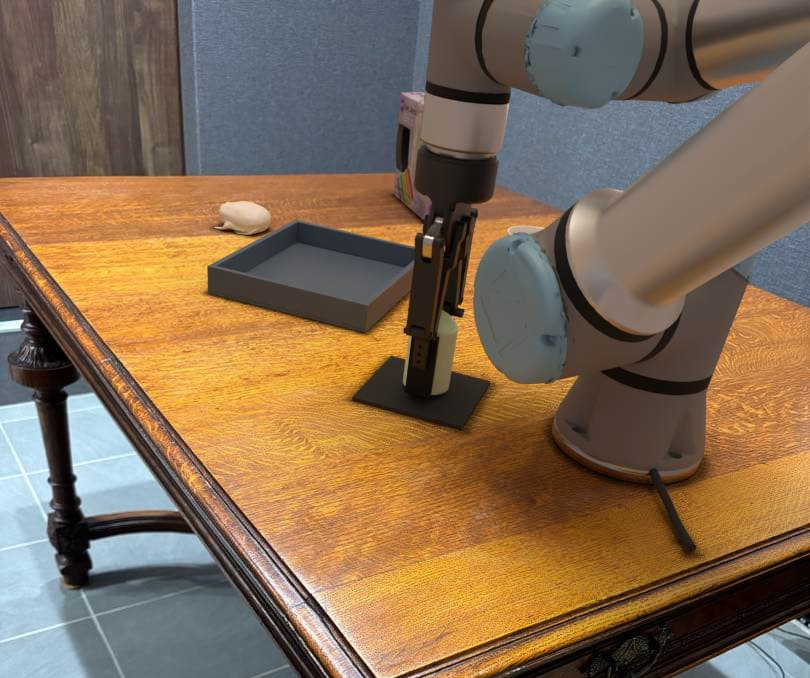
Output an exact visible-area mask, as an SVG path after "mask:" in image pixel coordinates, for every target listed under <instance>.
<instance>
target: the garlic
mask: <svg viewBox="0 0 810 678" xmlns="http://www.w3.org/2000/svg"><path fill="white" fill-rule="evenodd" d="M217 213H218V217H219V219H220V220H221V221H222V222H223V226H214V227H213V228H214V229H218V230H223V231H224V230H233V231H235V234H238V235H244V236H245V235H246V236H249V235H254V234H258V233H259V234H260V233H263V232H265V231H266V230H267V229H268V228H269V227H270V225H271V222H272V221H271V220H272V216H271V212H270V211H269V210H268V209H266V207H264V206H261V205H260V204H257V203H254V202H252V201H247V200H239V201H233V202H232V201H231V202H230V201H226V202H225V203H221V204H220V207H219V210H218V212H217Z"/></svg>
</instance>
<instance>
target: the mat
mask: <svg viewBox="0 0 810 678" xmlns="http://www.w3.org/2000/svg"><path fill="white" fill-rule="evenodd" d="M405 360H406V358H401V357H397V356H394V355H390V356H389V358H387V359H386V360H385V361H384V362H383V364H381V366H380V367H379V368H378V369H377V370H376V371H375V372H374V373H373V374H372V375H371V376H370V377H369V379H368V380H367V381H366V382H365V383H364V384H362V386H361V387H360V388H359V389H358V390H357V391H356V393H354V395H352V397H351V401H353V402H357V403H362V404H365V405H367V406H368V405H369V406H372V407H376V408H380V409H383V410H387V411H390V412H394V413H398V414H401V415H406V416H409V417H413V418H416V419H421V420H423V421H424V420H425V421H427V422H431V423H434V424H437V425H442V426H446V427H450V428H454V429H458V430H462V429H463V428H464V426H465V425H466V423H467V422H468V420H469V419H470V417H471V415H472V414H473V412H474V411H475V409H476V407H477V406H478V404H479V403H480V402H481V399H482V398H483V396H484V394H485V393H486V391H487V390H488V388H489V386H490V385H491V381H490V380H487V379H483V378H480V377H476V376H472V375H468V374H465V373H461V372H457V371H453V370H452V371H451V377H450V383H449V388H448V390H447V391H446V392H444V393H442V394H438V395H431V396H430V398H425V397H421V396H418V395H414V394H410V393H406V392H405V385H404V384H403V376H404V368H405Z"/></svg>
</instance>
